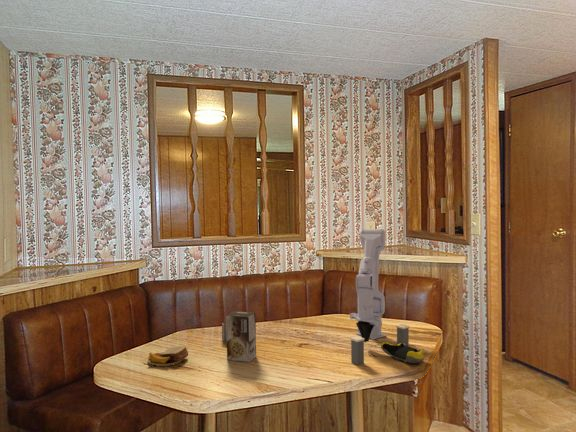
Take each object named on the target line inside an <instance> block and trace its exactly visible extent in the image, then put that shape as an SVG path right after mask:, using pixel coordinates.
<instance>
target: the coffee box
mask: <svg viewBox="0 0 576 432" xmlns="http://www.w3.org/2000/svg"><path fill="white" fill-rule="evenodd" d="M256 322H257V321H256V312H254V311H253V312H251V311H238V310H237V311H236V310H233V311H231V312H229V313H228V314H226V315H225V324H226V333H227V342H226V360H227V361H235V362H243V363H244V362H246V363H251V362H252V361H253V360H254V359H255V358H257V331H256V330H257V329H256V327H257V324H256Z"/></svg>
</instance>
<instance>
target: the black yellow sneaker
mask: <svg viewBox="0 0 576 432" xmlns="http://www.w3.org/2000/svg"><path fill="white" fill-rule="evenodd" d="M380 349H381V350H382V351H383V353H385V354H387V355H388V356H390V357H393V358H394V359H395V360H397V361H403V362H404V363H409V364H420V363H421V362H423V361H424V349H421V348H420V349H419V350H418V349H417V348H414V347H412V346H410V345H409V346H405V344H404V343H400V344H398V345H397V344H392V343H390V342H387V341H385V342H384V341H383V342H381V344H380Z"/></svg>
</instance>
